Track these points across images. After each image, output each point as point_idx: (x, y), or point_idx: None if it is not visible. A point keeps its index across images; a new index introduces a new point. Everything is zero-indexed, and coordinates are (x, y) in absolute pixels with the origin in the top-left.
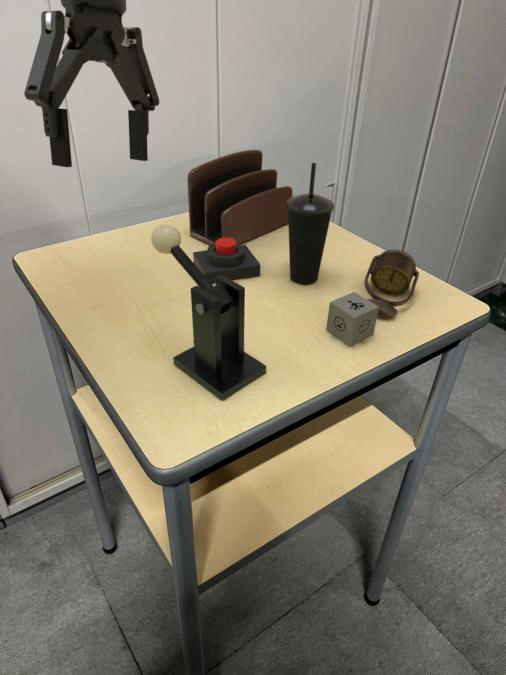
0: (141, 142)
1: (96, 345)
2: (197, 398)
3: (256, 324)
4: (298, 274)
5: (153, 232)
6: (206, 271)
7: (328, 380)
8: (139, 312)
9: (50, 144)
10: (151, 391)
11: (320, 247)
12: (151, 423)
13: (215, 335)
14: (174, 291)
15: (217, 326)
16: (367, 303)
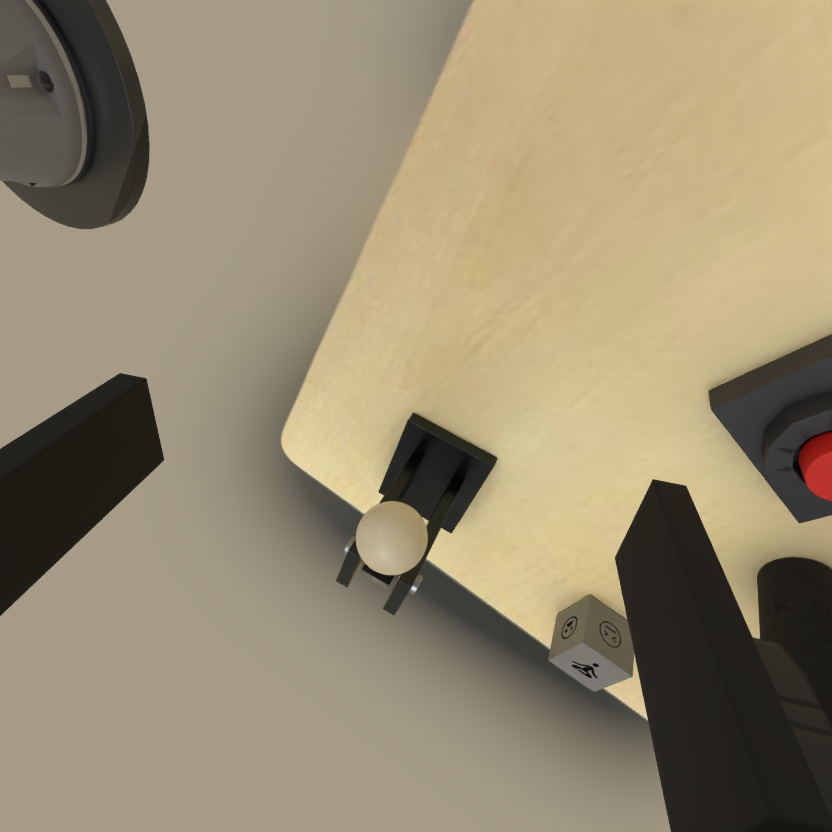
0: (638, 631)
1: (392, 269)
2: (373, 457)
3: (568, 506)
4: (761, 589)
5: (362, 532)
6: (722, 411)
7: (475, 584)
8: (527, 292)
9: (45, 424)
10: (353, 402)
11: None
12: (313, 421)
13: None
14: (649, 330)
15: None
16: (598, 682)
